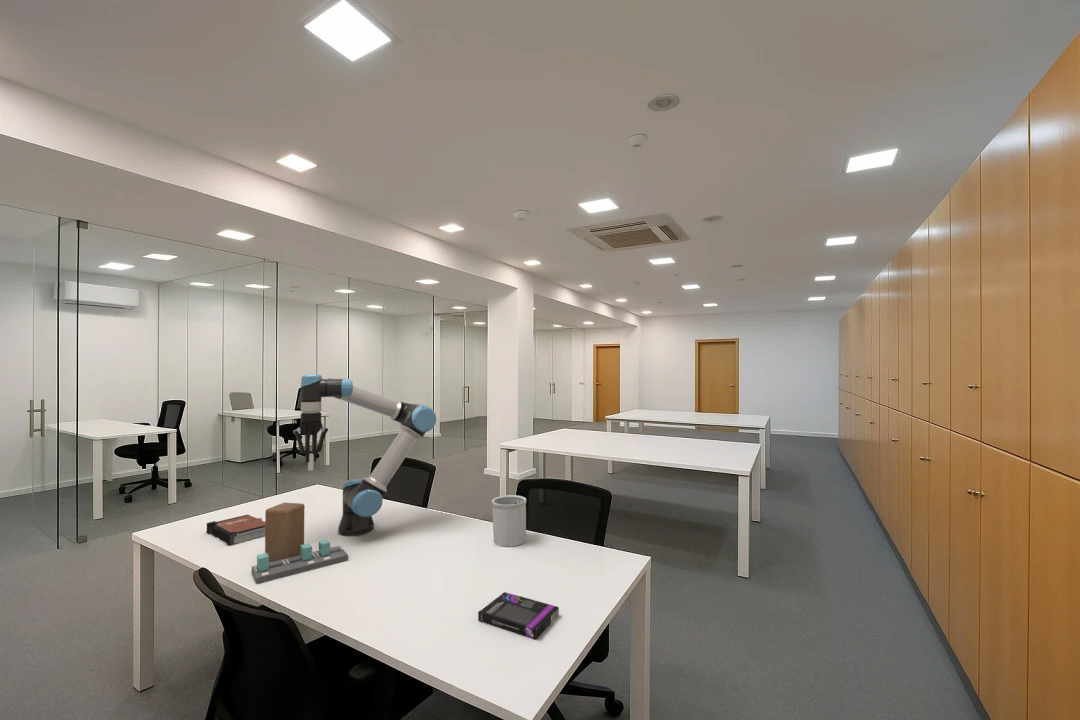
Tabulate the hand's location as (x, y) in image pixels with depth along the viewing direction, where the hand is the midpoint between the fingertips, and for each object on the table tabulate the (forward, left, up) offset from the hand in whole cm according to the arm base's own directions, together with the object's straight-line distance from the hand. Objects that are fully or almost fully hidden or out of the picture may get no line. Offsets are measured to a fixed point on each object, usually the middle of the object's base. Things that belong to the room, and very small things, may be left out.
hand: (310, 470), depth 182 cm
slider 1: (+18, +13, -30) cm, 38 cm away
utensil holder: (-68, +44, -33) cm, 87 cm away
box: (-35, +95, -33) cm, 106 cm away
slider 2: (+4, +13, -30) cm, 33 cm away
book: (+19, -42, -33) cm, 57 cm away
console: (+6, +14, -32) cm, 36 cm away
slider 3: (-2, +13, -30) cm, 33 cm away
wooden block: (+9, +1, -33) cm, 34 cm away
